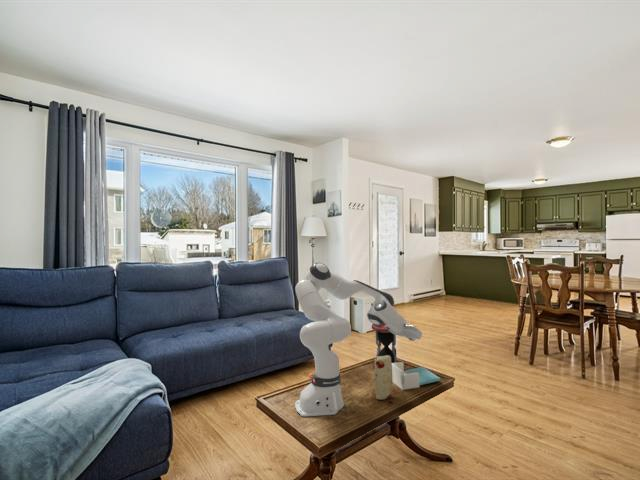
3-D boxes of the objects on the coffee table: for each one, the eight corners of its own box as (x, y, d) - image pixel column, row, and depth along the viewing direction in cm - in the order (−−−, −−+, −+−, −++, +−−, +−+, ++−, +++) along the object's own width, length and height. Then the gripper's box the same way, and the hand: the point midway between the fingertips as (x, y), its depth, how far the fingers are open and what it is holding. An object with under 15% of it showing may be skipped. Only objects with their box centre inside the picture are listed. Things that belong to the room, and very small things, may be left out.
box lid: (419, 382, 167) (440, 378, 170) (403, 370, 183) (422, 366, 186) (420, 386, 167) (440, 381, 170) (403, 374, 183) (422, 370, 186)
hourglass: (387, 360, 205) (386, 320, 205) (407, 368, 191) (405, 325, 191) (367, 366, 196) (366, 324, 196) (386, 375, 182) (385, 330, 183)
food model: (380, 403, 152) (379, 359, 152) (371, 397, 157) (370, 355, 158) (396, 397, 157) (395, 355, 157) (387, 392, 162) (385, 351, 163)
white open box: (402, 389, 164) (401, 371, 165) (386, 376, 181) (386, 360, 181) (419, 387, 167) (418, 369, 167) (402, 374, 183) (402, 358, 183)
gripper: (415, 320, 167) (430, 337, 171) (387, 317, 185) (402, 332, 189) (409, 331, 164) (425, 347, 168) (382, 326, 182) (397, 341, 186)
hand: (413, 339), depth 179 cm, fingers closed
